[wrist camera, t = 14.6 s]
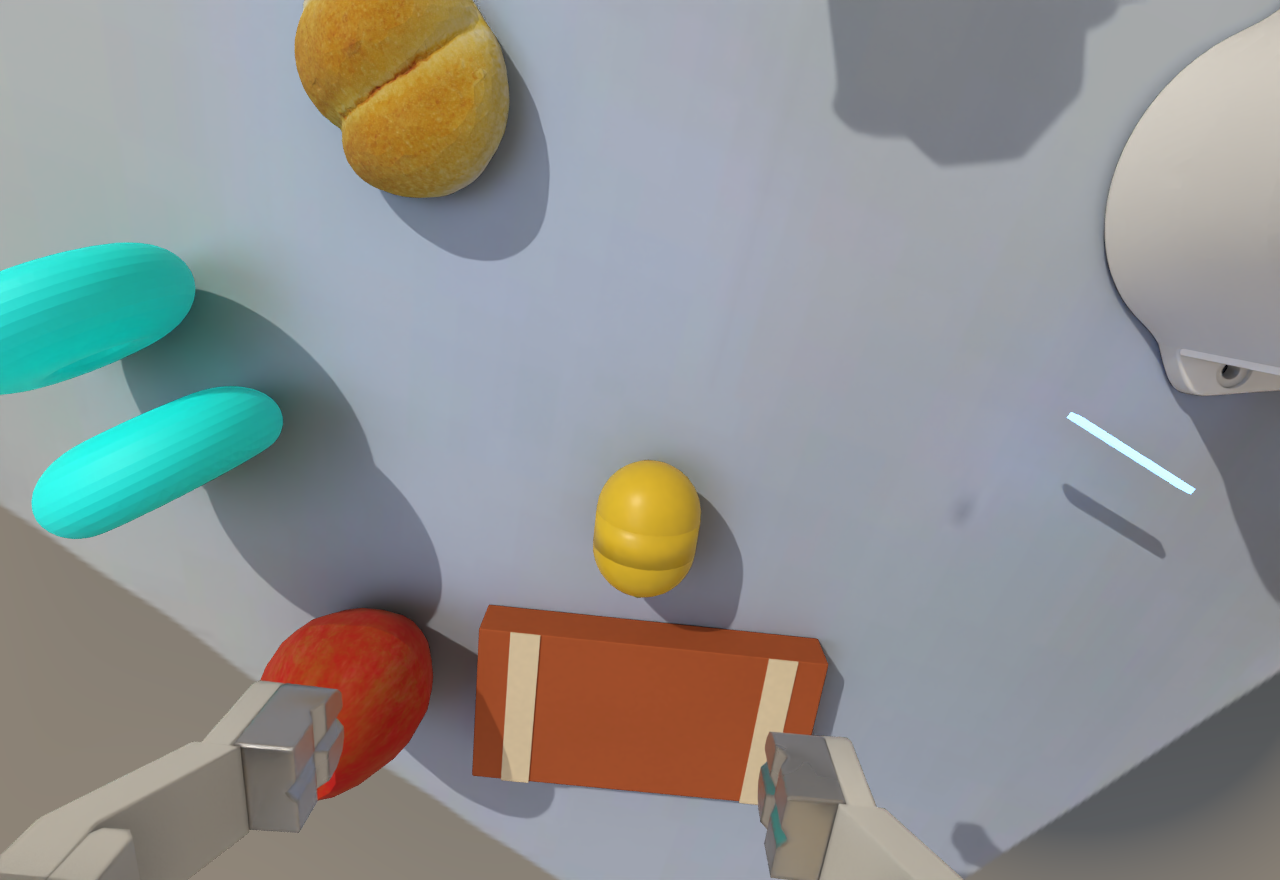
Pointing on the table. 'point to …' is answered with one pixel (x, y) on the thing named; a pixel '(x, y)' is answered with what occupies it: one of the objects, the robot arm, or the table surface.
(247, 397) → the donuts
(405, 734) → the apple
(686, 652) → the tea towel
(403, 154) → the bread roll
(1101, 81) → the table surface
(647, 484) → the lemon
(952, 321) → the table surface
